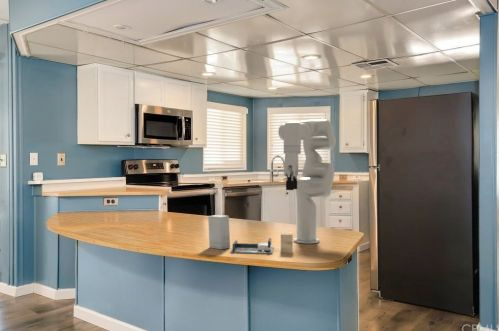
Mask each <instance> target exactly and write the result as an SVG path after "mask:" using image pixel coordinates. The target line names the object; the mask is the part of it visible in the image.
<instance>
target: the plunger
mask: <svg viewBox="0 0 499 331" xmlns="http://www.w3.org/2000/svg"><path fill="white" fill-rule="evenodd" d="M257 244H258V250H261V251H262V252H264V251H269V250H270V247H272V238H271V237H269V238H268V240H267V242H258V243H257Z"/></svg>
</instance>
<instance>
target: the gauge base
mask: <svg viewBox="0 0 499 331" xmlns="http://www.w3.org/2000/svg"><path fill="white" fill-rule="evenodd" d="M258 244H259V243H247V242H246V243H244V242H243V243H242V242H241V243H239V242H238V240H234V241H233V242H232V249H231V251H230V254H251V255H252V254H255V255H257V254H258V255H273V254H274V253H273V252H274V249H275V246H271V247H270V250H269V251H264V252H262V251H261V250H258Z"/></svg>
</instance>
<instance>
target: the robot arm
mask: <svg viewBox="0 0 499 331" xmlns="http://www.w3.org/2000/svg"><path fill="white" fill-rule="evenodd" d="M277 132H278V133H277V134H278V137H279V138H280V139H281V140H282V141H283V154H284V164H283V165H284V166H283V167H284V168H283V176H285V177H286V178H285V190H286V191H293V190H295V195H296V196H295V197H296V237H294V238H293V242H295V243H298V244H306V245H308V244H317V243H319V242H320V238H318V237H317V205H316V204H317V203H316V202H315V201H314V199H313V198H328V197H329V196H330V195H331V192H332V187H333V182H334V179H335V178H334V177H335V169H334V166H333V164H332V163H330V162H323V158H322V156H321V155H320V153H318V150H323V151H324V150H333V149H334V148H335V147H336V144H337V139H336V134H335V131H334V128H333V125H332V123H331V121H330V120H328V119H325V118H321V119H320V118H319V119H307V120H301V121H287V122H285V123H282V124H280V126H279V127H278V131H277ZM302 144H303V152H304V155H305V161H304V165H303V168H302V173H301V174H302V177H299V178H298V176H299V155H301V154H302V148H301V146H302ZM316 150H317V151H316Z"/></svg>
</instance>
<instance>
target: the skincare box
mask: <svg viewBox="0 0 499 331" xmlns="http://www.w3.org/2000/svg"><path fill="white" fill-rule="evenodd" d="M229 219H230V217H229V215H227V214H225V215H222V214H214V215H208V220H207V221H208V223H207V224H208V242H209V244H208V246H209V248H211V249H217V250H225V249H230V247H231V239H230V220H229Z"/></svg>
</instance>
